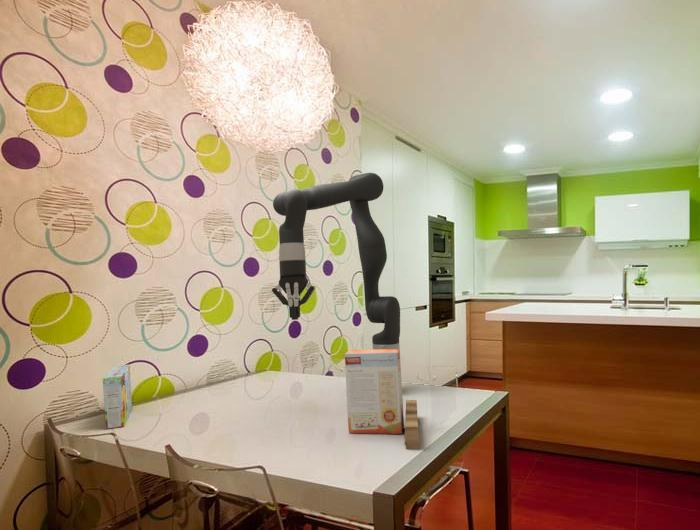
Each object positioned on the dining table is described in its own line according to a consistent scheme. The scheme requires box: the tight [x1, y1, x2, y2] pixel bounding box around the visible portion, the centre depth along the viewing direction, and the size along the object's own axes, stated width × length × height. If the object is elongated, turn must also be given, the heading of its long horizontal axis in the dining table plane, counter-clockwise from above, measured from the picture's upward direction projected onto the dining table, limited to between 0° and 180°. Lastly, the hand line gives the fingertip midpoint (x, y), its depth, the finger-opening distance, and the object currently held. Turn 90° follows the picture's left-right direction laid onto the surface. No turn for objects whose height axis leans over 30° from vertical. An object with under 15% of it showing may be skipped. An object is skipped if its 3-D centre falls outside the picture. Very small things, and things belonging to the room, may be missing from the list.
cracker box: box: [344, 349, 405, 435], centre depth 124 cm, size 14×6×21 cm, turn 77°
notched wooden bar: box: [404, 399, 420, 450], centre depth 121 cm, size 24×3×5 cm, turn 173°
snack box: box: [102, 364, 133, 430], centre depth 146 cm, size 21×6×15 cm, turn 19°
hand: (295, 319), depth 136 cm, fingers closed
